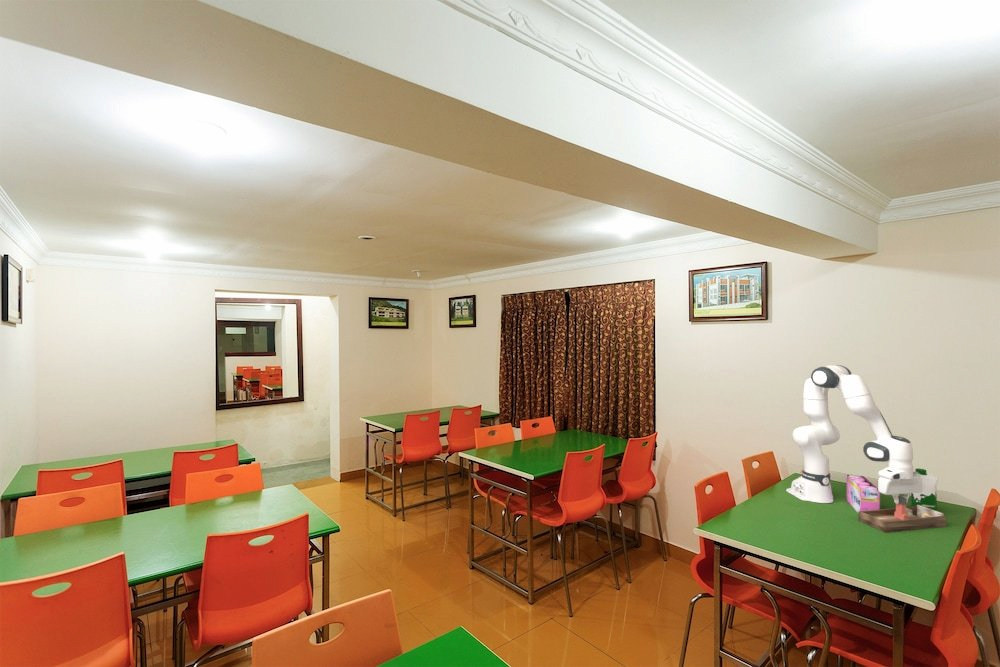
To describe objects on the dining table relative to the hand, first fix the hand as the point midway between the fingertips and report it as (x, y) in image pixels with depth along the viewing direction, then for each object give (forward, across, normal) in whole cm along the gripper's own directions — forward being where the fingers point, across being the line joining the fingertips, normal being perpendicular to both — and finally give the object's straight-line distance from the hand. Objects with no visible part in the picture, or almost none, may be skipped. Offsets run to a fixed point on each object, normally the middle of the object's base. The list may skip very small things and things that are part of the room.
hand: (900, 502), depth 217 cm
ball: (+8, -14, 0) cm, 16 cm away
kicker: (+7, 0, 0) cm, 7 cm away
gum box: (+10, 0, -19) cm, 22 cm away
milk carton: (+10, -24, -10) cm, 28 cm away
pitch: (+10, 0, 0) cm, 10 cm away
